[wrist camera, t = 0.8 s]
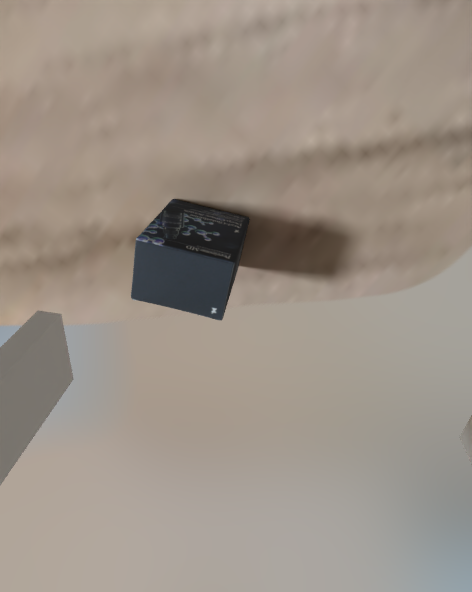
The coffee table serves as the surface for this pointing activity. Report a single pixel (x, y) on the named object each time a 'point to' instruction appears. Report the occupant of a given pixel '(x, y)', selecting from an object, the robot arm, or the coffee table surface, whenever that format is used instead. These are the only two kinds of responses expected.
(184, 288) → the box
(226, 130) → the coffee table surface
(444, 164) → the coffee table surface
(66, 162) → the coffee table surface
